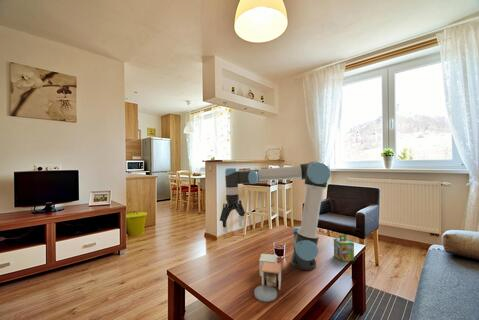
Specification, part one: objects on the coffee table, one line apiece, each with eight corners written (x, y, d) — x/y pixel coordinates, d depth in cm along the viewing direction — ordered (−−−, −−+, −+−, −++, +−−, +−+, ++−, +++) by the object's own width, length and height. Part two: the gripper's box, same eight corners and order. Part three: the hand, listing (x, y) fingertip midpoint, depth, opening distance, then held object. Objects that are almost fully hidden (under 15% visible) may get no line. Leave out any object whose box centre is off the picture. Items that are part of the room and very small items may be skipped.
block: (277, 281, 115) (276, 272, 115) (276, 286, 110) (276, 277, 110) (267, 280, 116) (267, 271, 116) (266, 285, 111) (266, 276, 111)
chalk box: (341, 262, 135) (340, 238, 135) (333, 255, 144) (332, 233, 144) (354, 261, 136) (354, 237, 136) (346, 254, 145) (345, 233, 145)
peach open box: (281, 279, 116) (280, 263, 116) (280, 289, 107) (279, 272, 107) (264, 277, 119) (264, 262, 119) (262, 287, 110) (261, 270, 110)
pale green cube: (277, 269, 127) (276, 255, 127) (275, 277, 118) (275, 262, 118) (262, 268, 130) (261, 253, 130) (259, 275, 121) (259, 260, 121)
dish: (277, 289, 108) (277, 286, 108) (276, 303, 97) (275, 300, 97) (256, 286, 111) (256, 284, 111) (252, 299, 100) (252, 297, 100)
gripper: (240, 190, 140) (241, 223, 139) (212, 196, 120) (213, 234, 120) (249, 191, 135) (251, 225, 134) (221, 197, 116) (223, 236, 115)
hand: (233, 229), depth 127 cm, fingers open, 13 cm apart
